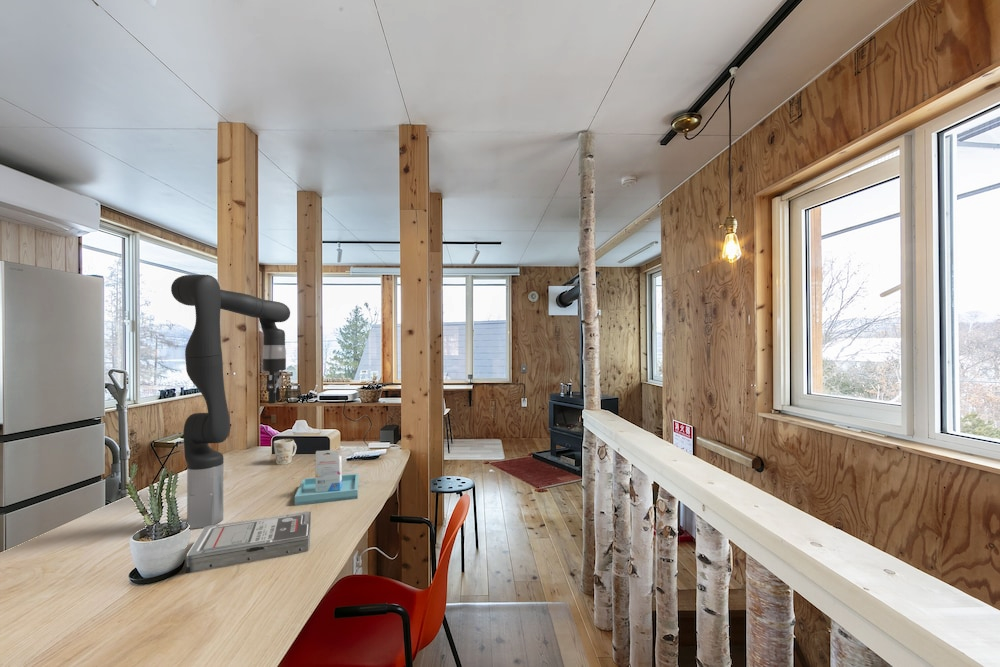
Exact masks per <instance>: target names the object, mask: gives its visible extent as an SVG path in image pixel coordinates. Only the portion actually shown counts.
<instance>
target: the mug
mask: <svg viewBox="0 0 1000 667" xmlns="http://www.w3.org/2000/svg"><path fill="white" fill-rule="evenodd" d="M297 447H298V446H297V444H296V442H295V439H293V438H283V439H278V440H274V441H273V448H274V449H273V450H274V455H275V461H276V464H277V465H288V464H291V463H292V459H293V457H294V456H295V455H296V451H297Z"/></svg>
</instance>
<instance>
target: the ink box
mask: <svg viewBox="0 0 1000 667" xmlns="http://www.w3.org/2000/svg"><path fill="white" fill-rule="evenodd" d="M328 454H329V455H328ZM314 462H315V463H314V465H315V466H314V467H315V468H314V469H315V477H314V478H315V489H316V492H327V491H339V490H340V489H341V487H342V475H343V467H342V464H343V462H342V454H341V455H340V450H339V449H328V450H316V451H315V459H314Z"/></svg>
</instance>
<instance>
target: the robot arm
mask: <svg viewBox="0 0 1000 667" xmlns="http://www.w3.org/2000/svg"><path fill="white" fill-rule="evenodd" d="M170 291H171V294H172V297H173V298H174V299H175V300H176V301H177V302H178V303H179V304H181V305H185V306H190V307H194V309H195V310H194V311H195V325H194V329H193V330H192V333H191V335H190V337H189V338H188V341H187V343H186V346H185V349H184V356H185V357H184V358H185V369H186V373H187V376H188V378H189V379H190V381H191V382H192V383H193V385H194V386H195V387H196V388H197V390H198V391H199V392H200V394H201V395H202V396H203V399H204V401H205V403H206V408H207V412H196V413H192V414H190V415H189V416H188V417H187V418H186V420H185V422H184V425H183V449H184V459H185V462H186V467H187V468H186V469H187V471H186V474H187V475H186V476H187V477H186V482H187V483H186V519H187V520H186V523H187V522H188V524H189V525H190V529H189V530H192V529H199V528H204V527H207V526H212V525H217V524H218V523H219V524H220V522H222V521H223V520H224V467H225V465H224V459H225V458H224V454H223V453H221V452H220V451H216V450H215V449H213V448H211V447H210V446H209V444H220V443H223V442H225V441H227V439H228V437H229V434H230V429H231V422H230V421H231V420H230V414H229V408H228V404H227V396H226V389H225V380H224V364H223V363H224V362H223V352H222V351H223V350H222V341H221V310H225V311H227V312H233V313H235V314H239V315H244V316H246V317H251V318H255V319H257V318H258V320H259V323H260V326H261V331H262V334H263V348H262V370H263V372H268V373H269V374H267V375H266V392H267V396H268V401H267V402H268V404H271V405H272V404H275V403H276V402H277V401H280V400H281V389H282V387H283V385H282V384H283V383H282V382H283V381H282V379H283V377H282V375H283V373H282V371H286V369H287V363H286V362H287V356H286V355H287V350H286V333H285V330H283V329H281V328H278V327H277V324H276V323H284V322H287V320H289V318H290V316H291V310H290V308H289V307H288V305H287V304H285V303H284V302H280V301H274V300H270V299H269V300H267V299H262V298H260V297H258V296H254V295H252V294H247V293H243V292H236V291H232V290H231V291H229V290H225V289H221V287H220V283H219V281H218V280H217V279H216V277H214V276H212V275H210V274H186V275H181V276H179V277H177V278H175V280H173V282H172V283H171V287H170Z"/></svg>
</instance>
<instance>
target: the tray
mask: <svg viewBox="0 0 1000 667" xmlns="http://www.w3.org/2000/svg"><path fill="white" fill-rule="evenodd" d="M358 493H359V473H352V474H351V473H350V474H349V473H347V474H342V487H341V489H340V490H339V491H327V492H316V489H315V477H309V478H307V477H306V478H302V480H301V482H300V485H299V487H298V489H297V490H296V493H295V495H294V506H302V505H303V506H305V505H314V504H320V503H322V504H323V503H328V502H329V503H330V502H331V503H332V502H339V501H348V500H355V499H356V500H357V499H358Z"/></svg>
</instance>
